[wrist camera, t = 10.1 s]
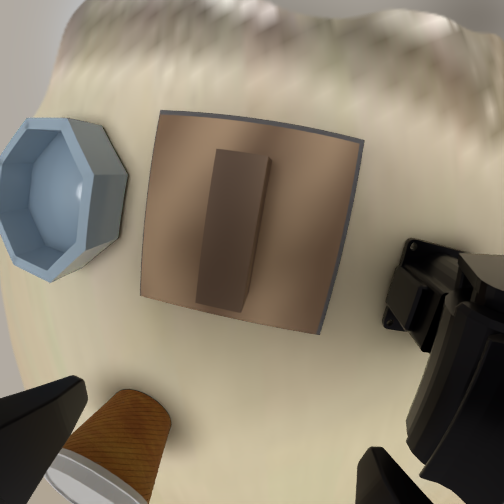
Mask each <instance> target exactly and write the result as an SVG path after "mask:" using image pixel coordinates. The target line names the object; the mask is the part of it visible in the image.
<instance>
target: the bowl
mask: <svg viewBox="0 0 504 504" xmlns="http://www.w3.org/2000/svg"><path fill="white" fill-rule="evenodd" d="M127 176H128V174H127V173H126V171H125V169H124V167H123V165H122V164H121V162H120V160H119V158H118V156H117V154H116V152H115V150H114V149H113V147H112V145H111V143H110V141H109V139H108V137H107V135H106V133H105V131H104V129H103V127H102V126H101V125H97V124H93V123H88V122H84V121H79V120H75V119H70V118H26V120H25V121H24V122H23V124H22V125H21V126H20V128H19V129H18V131H17V132H16V133H15V135H14V136H13V138H12V139H11V140H10V142H9V143H8V145H7V146H6V148H5V149H4V151H3V152H2V154H1V156H0V235H1V237H2V239H3V242H4V244H5V247H6V249H7V251H8V253H9V256H10V258H11V260H12V262H13V264H14V265H15V266H17V267H19V268H21V269H23V270H25V271H27V272H29V273H31V274H33V275H35V276H37V277H39V278H41V279H44V280H46V281H48V282H50V283H51V282H53V281H55V280H57V279H59V278H61V277H64V276H66V275H68V274H70V273H72V272H74V271H76V270H78V269H80V268H83V266H85V265H86V264H87V263H88V262H89V261H91V260H92V259H93V258H94V257H95V256H97V255H98V254H99V253H100V252H101V251H103V250H104V249H105V248H106V247H108V246H109V245H110V244H111V243H113V242H114V241H115V240H116V239H118V235H119V227H120V220H121V214H122V209H123V202H124V193H125V187H126V181H127Z"/></svg>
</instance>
